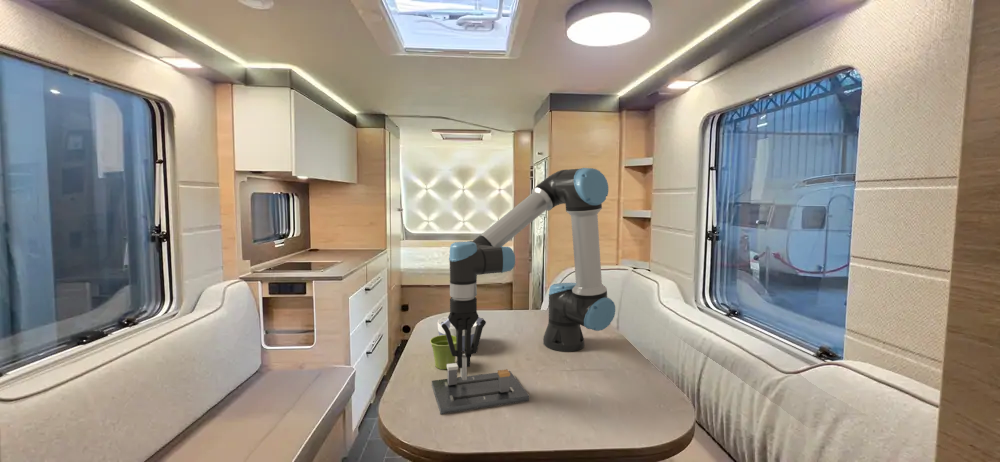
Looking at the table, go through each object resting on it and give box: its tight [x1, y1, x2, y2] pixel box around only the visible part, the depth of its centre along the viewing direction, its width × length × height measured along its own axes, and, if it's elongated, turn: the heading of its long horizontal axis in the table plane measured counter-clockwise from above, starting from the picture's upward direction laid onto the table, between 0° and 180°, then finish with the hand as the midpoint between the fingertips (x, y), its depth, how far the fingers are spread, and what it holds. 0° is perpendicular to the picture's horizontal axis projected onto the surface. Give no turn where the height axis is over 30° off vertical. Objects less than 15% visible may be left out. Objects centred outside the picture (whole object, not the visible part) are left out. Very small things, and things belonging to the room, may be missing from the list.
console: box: [431, 370, 530, 415], centre depth 113 cm, size 24×16×2 cm, turn 108°
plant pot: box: [429, 335, 457, 370], centre depth 130 cm, size 9×9×9 cm
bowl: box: [437, 315, 477, 352], centre depth 147 cm, size 16×16×10 cm
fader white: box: [446, 362, 459, 385], centre depth 114 cm, size 3×2×5 cm
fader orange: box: [497, 368, 511, 393], centre depth 110 cm, size 3×2×5 cm
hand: (463, 377), depth 115 cm, fingers closed
